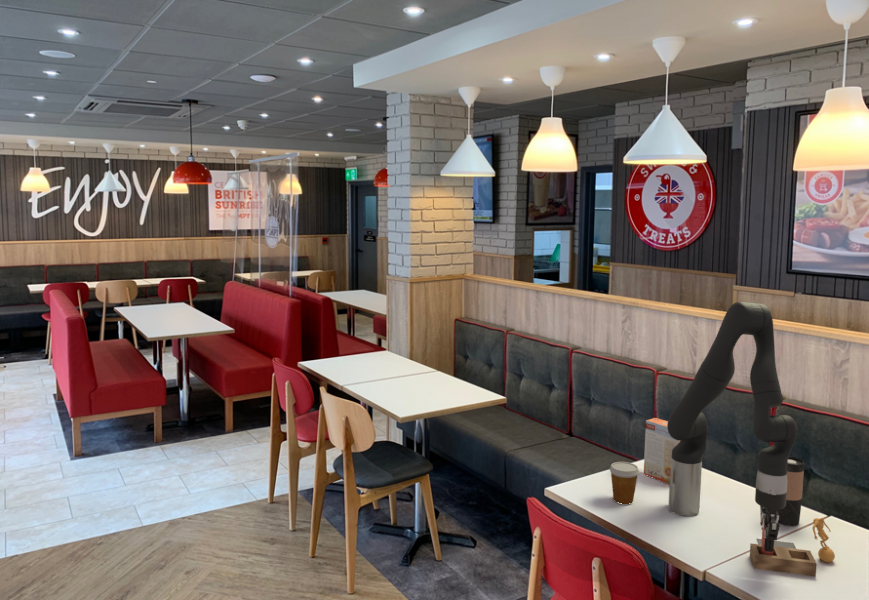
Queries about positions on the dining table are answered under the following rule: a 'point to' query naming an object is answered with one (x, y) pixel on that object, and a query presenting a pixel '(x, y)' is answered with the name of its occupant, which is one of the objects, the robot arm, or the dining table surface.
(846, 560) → the dining table surface
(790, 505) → the travel mug
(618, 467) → the disposable coffee cup
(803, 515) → the dining table surface
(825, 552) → the figurine
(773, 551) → the peg
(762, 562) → the hole block
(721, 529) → the dining table surface
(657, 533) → the dining table surface
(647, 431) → the cracker box
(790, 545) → the mat
